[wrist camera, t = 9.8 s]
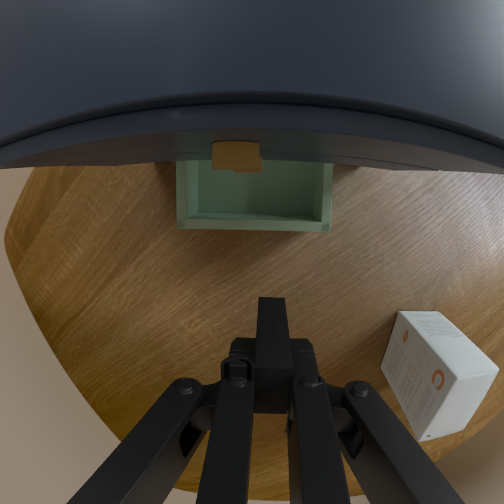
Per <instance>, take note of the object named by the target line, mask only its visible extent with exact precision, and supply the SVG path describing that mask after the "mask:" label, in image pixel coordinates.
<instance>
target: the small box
mask: <svg viewBox="0 0 504 504" xmlns="http://www.w3.org/2000/svg"><path fill="white" fill-rule="evenodd" d="M380 368H381V370H382V371H383V373H384V375H385V377H386V379H387V381H388V383H389V384H390V386H391V388H392V390H393V392H394V394H395V396H396V398H397V400H398V402H399V404H400V406H401V408H402V410H403V412H404V414H405V416H406V418H407V420H408V422H409V424H410V426H411V428H412V430H413V432H414V435H415V437H416V439H417V441H418V442H421V441H426V440H431V439H435V438H439V437H442V436H446V435H449V434H452V433H455V432H458V431H461V430H463V429H464V428H465V426H466V425H467V423H468V422H469V420H470V419H471V417H472V416H473V414H474V413H475V411H476V410H477V408H478V406H479V405H480V403H481V401H482V400H483V398H484V396H485V395H486V393H487V391H488V389H489V388H490V386H491V384H492V382H493V380H494V379H495V377H496V375H497V373H498V371H499V368H498V367H497V366H496V365H495V364H494V363H493V362H492V361H491V360H490V359H489V358H488V357H487V356H486V355H485V354H484V353H483V352H482V351H481V350H480V349H479V348H478V347H477V346H476V345H475V344H474V343H473V342H472V341H470V340H469V339H468V338H467V337H466V336H465V335H464V334H463V333H462V332H461V331H460V330H459V329H458V328H457V327H456V326H454V325H453V324H452V323H451V322H450V321H449V320H448V319H447V318H445V317H444V316H443V315H442V314H441V313H440V312H438V311H398V314H397V318H396V321H395V324H394V328H393V331H392V334H391V337H390V340H389V343H388V346H387V349H386V352H385V355H384V358H383V361H382V363H381V366H380Z"/></svg>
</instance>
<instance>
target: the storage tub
mask: <svg viewBox="0 0 504 504" xmlns="http://www.w3.org/2000/svg"><path fill="white" fill-rule="evenodd" d="M333 166H334V164H331V163H318V162H302V161H281V160H262V172H261V173H238V172H233V170H218V169H212V160H189V161H176V211H177V228H178V229H230V230H268V231H298V232H323V233H330V229H331V212H332V194H333Z"/></svg>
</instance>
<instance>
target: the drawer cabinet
mask: <svg viewBox="0 0 504 504" xmlns="http://www.w3.org/2000/svg"><path fill="white" fill-rule="evenodd" d="M189 160H212V169H218V170H233V172H238V173H261V172H262V160H281V161H302V162H318V163H331V164H343V165H353V166H363V167H372V168H380V169H388V170H429V171H438V170H442V171H460V172H479V173H493V174H504V0H0V169H9V168H22V167H43V166H63V165H66V166H117V165H127V164H139V163H152V162H168V161H189Z"/></svg>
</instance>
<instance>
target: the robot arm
mask: <svg viewBox="0 0 504 504" xmlns="http://www.w3.org/2000/svg"><path fill="white" fill-rule="evenodd" d="M220 365H221V380H220V381H218V382H216V383H214V384H209V385H201V383H200V382H199V381H197V380H195V379H193V378H180V379H177V380H175V381H174V382H172V383H171V384H170V386H169V387H168V388H167V389H166V390H165V391H164V393H163V394H162V395H161V396H160V397H159V399H158V400H157V401H156V402H155V403H154V405H153V406H152V407H151V408H150V409H149V410H148V412H147V413H146V414H145V415H144V416H143V417H142V419H141V420H140V421H139V422H138V423H137V424H136V426H135V427H134V428H133V429H132V430H131V431H130V433H129V434H128V435H127V436H126V437H125V438H124V440H123V441H122V442H121V443H120V444H119V445H118V446H117V448H116V449H115V450H114V451H113V452H112V453H111V455H110V456H109V457H108V458H107V459H106V460H105V461H104V462H103V464H102V465H101V466H100V467H99V468H98V469H97V470H96V471H95V473H94V474H93V475H92V476H91V477H90V478H89V479H88V480H87V482H86V483H85V484H84V485H83V486H82V487H81V488H80V489H79V491H77V493H76V494H75V495H74V496H73V497H72V498H71V499H70V500H69V501H68V503H67V504H163V502H164V501H165V499H166V498H167V496H168V494H169V493H170V491H171V490H172V488H173V487H174V485H175V484H176V482H177V480H178V479H179V477H180V476H181V474H182V472H183V471H184V469H185V467H186V466H187V464H188V463H189V461H190V459H191V458H192V456H193V454H194V453H195V451H196V449H197V448H198V446H199V444H200V443H201V441H202V439H203V438H204V436H205V434H206V432H207V430H211V432H210V436H209V441H208V446H207V451H206V456H205V460H204V465H203V470H202V475H201V480H200V485H199V490H198V495H197V500H196V504H247V502H248V488H249V474H250V459H251V444H252V428H253V413H266V414H287V409H288V418H287V424H286V430H285V433H287V438H288V460H289V487H290V504H351V503H350V497H349V492H348V486H347V481H346V476H345V471H344V466H343V461H342V456H341V452H342V454H343V455H344V457H345V459H346V461H347V463H348V464H349V466H350V468H351V470H352V472H353V473H354V475H355V477H356V479H357V481H358V483H359V484H360V486H361V488H362V490H363V491H364V493H365V495H366V497H367V499H368V500H369V502H370V504H465V503H464V502H463V500H462V499H461V498H460V496H459V495H458V494H457V493H456V491H455V490H454V489H453V487H452V486H451V485H450V484H449V482H448V481H447V480H446V478H445V477H444V476H443V475H442V473H441V472H440V471H439V470H438V468H437V467H436V466H435V464H434V463H433V462H432V461H431V459H430V458H429V457H428V455H427V454H426V453H425V452H424V450H423V449H422V448H421V447H420V445H419V444H418V443H417V442H416V440H415V439H414V438H413V436H412V435H411V434H410V433H409V431H408V430H407V429H406V428H405V426H404V425H403V424H402V423H401V421H400V420H399V419H398V418H397V416H396V415H395V414H394V413H393V411H392V410H391V409H390V408H389V406H388V405H387V404H386V403H385V401H384V400H383V399H382V398H381V396H380V395H379V394H378V393H377V391H376V390H375V389H374V388H373V387H372V386H371V385H370V384H369V383H366V382H364V381H352V382H349V383H347V384H346V385H345V386H344V388H341V387H335V386H332V385H329V384H327V383H325V381H324V379H323V378H322V377H321V376H320V375H319V371H318V367H317V362H316V358H315V354H314V350H313V345H312V343H311V342H310V341H309V340H308V339H291V338H290V337H289V329H288V321H287V313H286V306H285V298H273V297H259V302H258V318H257V332H256V338H239V337H237V338H236V339H235V340H234V341H233V342H232V343H231V347H230V352H229V357H228V358H226V359H224V360H223V361H222V363H221V364H220ZM340 450H341V451H340Z"/></svg>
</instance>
